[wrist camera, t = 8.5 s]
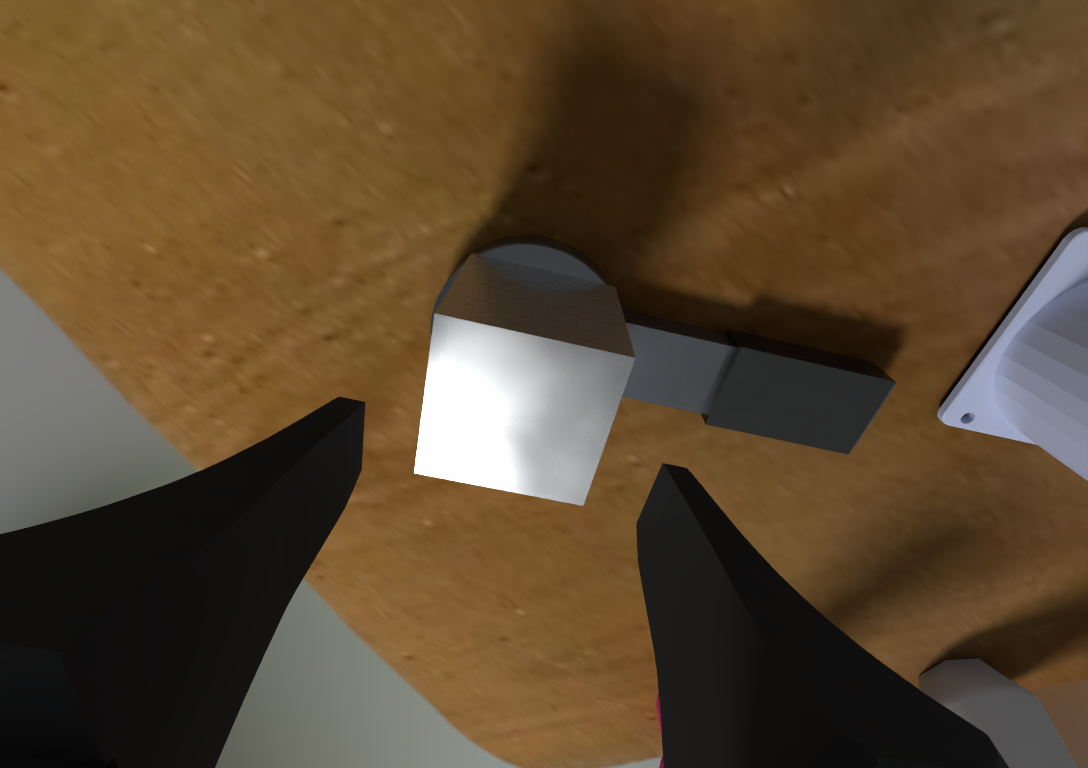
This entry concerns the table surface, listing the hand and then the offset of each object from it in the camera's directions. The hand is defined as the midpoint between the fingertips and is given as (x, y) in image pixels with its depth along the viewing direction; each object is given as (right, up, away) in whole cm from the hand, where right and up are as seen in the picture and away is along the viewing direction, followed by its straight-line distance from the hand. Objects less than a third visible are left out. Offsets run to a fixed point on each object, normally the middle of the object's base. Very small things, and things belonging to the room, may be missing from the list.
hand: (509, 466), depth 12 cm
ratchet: (+5, +3, +8) cm, 10 cm away
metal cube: (0, +4, +6) cm, 7 cm away
